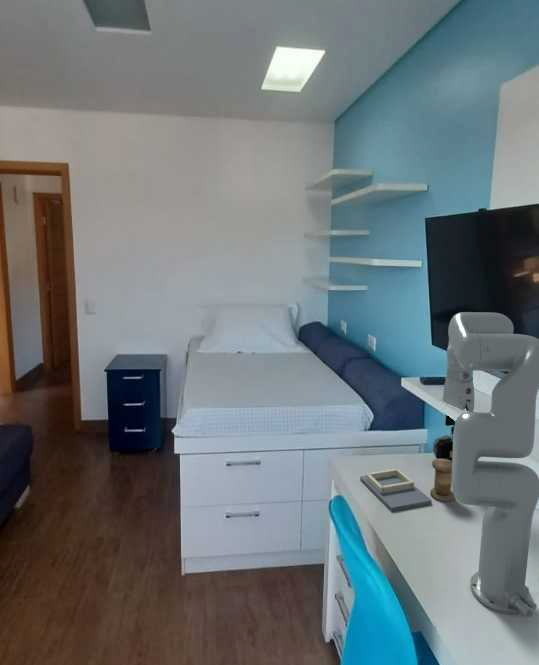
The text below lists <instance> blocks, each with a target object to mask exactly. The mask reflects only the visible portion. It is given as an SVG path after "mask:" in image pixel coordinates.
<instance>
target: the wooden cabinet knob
mask: <svg viewBox="0 0 539 665" xmlns="http://www.w3.org/2000/svg"><path fill="white" fill-rule="evenodd" d="M431 463H432V464H431V466H432V468H434V470H435V471H434V483H433V484H434V485H433V488H431V489H430V497H431V498H432V499H434V500H436V501H439V502H444V503H450V502H452V501H454V498H455V497H454V494H453V491H452V461H450V460H447V459H436V458H435V459H433V460H432V462H431Z"/></svg>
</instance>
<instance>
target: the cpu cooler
mask: <svg viewBox="0 0 539 665" xmlns="http://www.w3.org/2000/svg"><path fill="white" fill-rule="evenodd" d="M432 445H433V447H432V448H433V449H432V451H433V455H434V456H435V457H434V458H435V459H447V460H450V461H452V457H453V441H452V435H447V434H445V435H443V436H441V437H439V438H438V437H437V438H436V439H435V440H434V441H433V443H432Z"/></svg>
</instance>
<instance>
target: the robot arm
mask: <svg viewBox="0 0 539 665" xmlns="http://www.w3.org/2000/svg"><path fill="white" fill-rule="evenodd" d="M514 330H515V329H514V324H513V322H512V320H511V319H510V318H509V317H508V316H507V315H504V314H503V313H499V312H493V311H492V312H490V311H489V312H487V311H486V312H485V311H484V312H483V311H482V312H474V311H471V312H470V311H466V312H465V311H462V312H458V313H456V314H454V315H453V316H452V318H451V319H450V321H449V324H448V332H447V334H448V346H447V349H446V350H447V351H446V358H447V362H446V363H447V364H446V377H445V381H444V387H443V397H442V398H441V400H442V399H443V401H444V402H446V403H447V404H450V405H452V406H454V407H457V408H459V409H461V410H464V409H465V408H466V410H467V411H469V412H467V413H463V414H461V415H460V416H459V417H458V418H457V420H456V422H455V426H454V434H453V457H452V482H451V491H452V492H453V494H454V498H455V500H456V501H457V502H459V503H461V504H464V505H467V506H468V505H469V506H477V507H488V508H487V510H486V511H485V512H484V516H483V518H482V523H481V524H482V525H481V536H480V549H479V552H480V553H479V558H478V559H479V561H478V571H477V572H476V573H474V574H473V575H472V576H471V578H470V582H469V588H470V591H471V592H472V594H473V595H474V597H475V598H476V599H477V600H478V601H479V602H480V603H482V604H483V605H484V606H485V607H488V608H490V609H492V610H494V611H496V612H499V613H503V614H509V615H511V614H512V615H513V614H514V615H516V614H517V615H518V614H522V615H523V616H524V617H525V618H527V619H528V618H530V617H532V616H533V610H536V608H537V604H536V603H535V602H534V601H533V600H532V599H533V598H532V597H533V596H532V594H531V592H530V589H529V587H528V586H527V585H526V577H527V568H528V559H529V549H530V548H529V547H530V539H531V532H532V531H531V530H532V522H533V518H534V513H535V510H536V507H537V504H538V502H539V476H538V474H537V473H536V471H535V470H534V469H532V468H531V467H529V466H528V465H526V464H522V463H519V462H508V461H490V460H487V461H486V460H479V459H480V458H496V459H497V458H498V459H499V458H501V459H524V458H528V457H529V456H530V455H531V454H532V452H533V448H534V443H535V429H536V427H535V426H536V413H537V412H536V410H537V408H536V406H537V405H536V404H537V395H538V391H539V338H537V337H535V336H532V335H529V334H528V335H527V334H521V333H514ZM473 371H475V372H476V371H481V372H482V371H484V372H507V373H506V374H504V375H503V376H502V377H501V378H500V379H499V381H498V382H497V383H496V384H495V385H494V387H493V389H492V391H491V407H490V410H489V412H478V411H475V412H474V410H475V386H474V381H473ZM444 425H445V426H446V427H449V426H451V427H452V426H453V425H454V420H453V419H451V418H450V417H449V416H447V415H446V414H445V424H444Z"/></svg>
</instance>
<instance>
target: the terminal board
mask: <svg viewBox="0 0 539 665" xmlns="http://www.w3.org/2000/svg"><path fill="white" fill-rule="evenodd" d="M359 481H361V483H363V485H364V486H365V487H366V488H368V490H369V491H370V492H372V494H373V495H374V496H375V497H376V498H377V499H378V500H379V501H380V502H381V503H382V504H383V505H384V506H385V507H386V508H387V509H388V510H389V511H390V512H395V511H400V510H405V509H411V508H418V507H423V506H427V505H432V499H431V498H430V497H428V496H427V495H426V494H425V493H423V492H422V490H420V489H419V488H418V487H417V486H415V482H414V481H413V480H412V479H410V477H408V476H407V475H406V474H405V473H404V472H402V471H401V469H399V468H393V469H385V470H380V471H373V472H368V473H365V475H362V476H360V477H359Z"/></svg>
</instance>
